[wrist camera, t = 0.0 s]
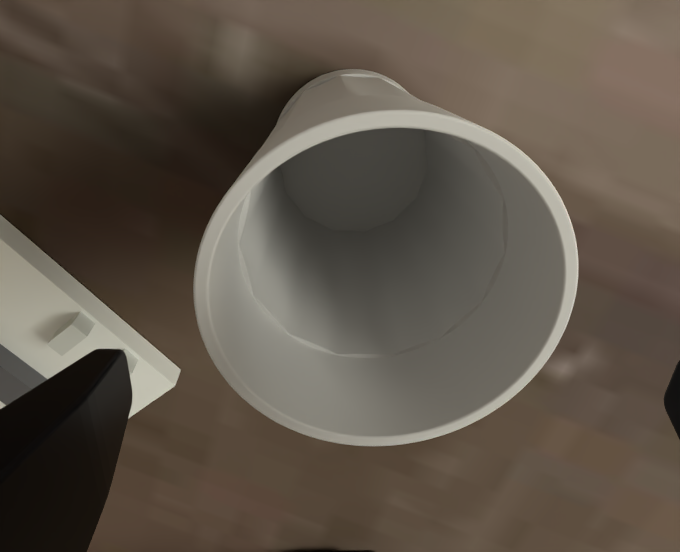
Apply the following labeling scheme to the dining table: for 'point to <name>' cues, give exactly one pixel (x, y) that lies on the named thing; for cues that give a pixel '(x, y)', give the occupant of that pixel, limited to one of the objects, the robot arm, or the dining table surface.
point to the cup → (383, 268)
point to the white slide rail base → (62, 326)
